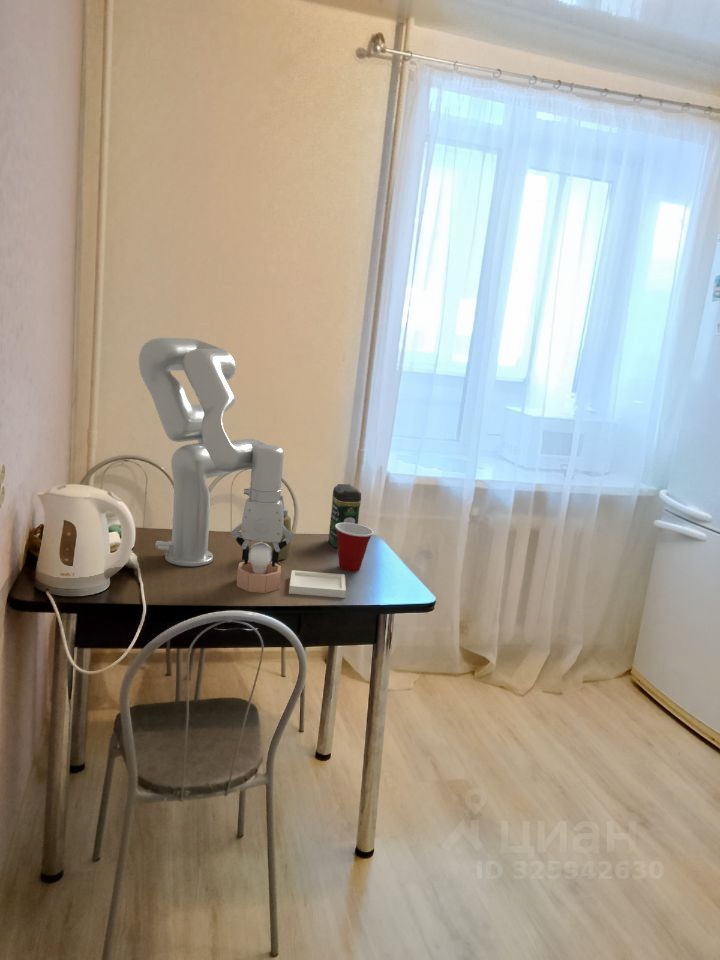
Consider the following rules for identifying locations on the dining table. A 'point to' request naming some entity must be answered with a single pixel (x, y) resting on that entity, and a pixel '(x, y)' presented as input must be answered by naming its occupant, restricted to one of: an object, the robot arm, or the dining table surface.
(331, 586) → the tray
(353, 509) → the coffee jar
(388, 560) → the dining table surface
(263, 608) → the dining table surface
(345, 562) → the plastic cup
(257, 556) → the lightbulb
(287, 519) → the squeeze bottle
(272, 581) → the terracotta octagonal ring
